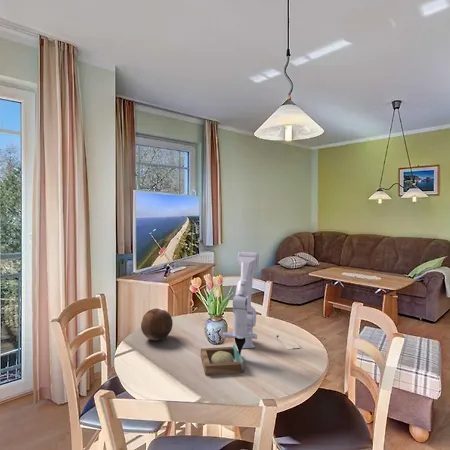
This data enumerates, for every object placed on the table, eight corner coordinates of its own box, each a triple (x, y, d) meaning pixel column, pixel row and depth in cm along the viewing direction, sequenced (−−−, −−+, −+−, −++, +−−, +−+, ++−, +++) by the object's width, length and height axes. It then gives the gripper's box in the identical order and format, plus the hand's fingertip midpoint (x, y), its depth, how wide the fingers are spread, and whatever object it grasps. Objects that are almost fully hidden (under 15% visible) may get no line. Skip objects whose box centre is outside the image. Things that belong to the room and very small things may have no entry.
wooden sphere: (177, 335, 166) (177, 306, 165) (164, 347, 151) (164, 315, 150) (149, 331, 169) (150, 303, 168) (134, 343, 155) (135, 312, 154)
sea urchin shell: (218, 351, 144) (229, 342, 140) (228, 368, 141) (239, 359, 137) (205, 359, 137) (216, 349, 133) (215, 376, 134) (226, 367, 130)
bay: (200, 356, 143) (200, 348, 143) (232, 354, 146) (232, 346, 146) (205, 375, 128) (205, 366, 127) (240, 372, 130) (240, 363, 130)
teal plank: (244, 372, 130) (244, 361, 130) (241, 372, 130) (241, 362, 130) (234, 353, 146) (235, 344, 146) (231, 353, 146) (232, 344, 146)
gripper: (223, 326, 137) (222, 358, 137) (258, 327, 137) (257, 359, 138) (223, 320, 144) (222, 351, 144) (256, 321, 144) (255, 351, 145)
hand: (239, 354), depth 141 cm, fingers closed
